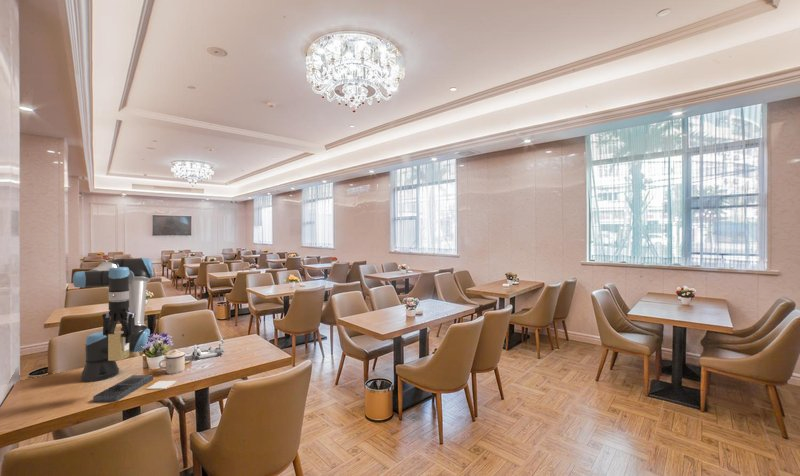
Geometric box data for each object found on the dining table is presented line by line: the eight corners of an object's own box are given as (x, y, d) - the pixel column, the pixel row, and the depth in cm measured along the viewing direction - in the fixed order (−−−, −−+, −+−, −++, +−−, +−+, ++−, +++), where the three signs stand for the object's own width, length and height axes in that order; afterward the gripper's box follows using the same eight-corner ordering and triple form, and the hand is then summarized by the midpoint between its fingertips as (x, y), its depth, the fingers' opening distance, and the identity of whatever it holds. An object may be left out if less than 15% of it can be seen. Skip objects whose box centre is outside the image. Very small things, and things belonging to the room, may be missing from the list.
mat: (146, 389, 168) (146, 388, 168) (158, 381, 177) (158, 380, 177) (165, 389, 169) (165, 388, 169) (176, 381, 178) (176, 380, 178)
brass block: (108, 360, 161) (108, 334, 161) (117, 356, 166) (117, 331, 167) (120, 360, 161) (120, 334, 161) (129, 356, 167) (129, 331, 167)
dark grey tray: (93, 401, 156) (93, 396, 156) (132, 380, 180) (132, 375, 180) (116, 401, 156) (116, 395, 156) (152, 379, 180) (152, 374, 180)
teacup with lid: (184, 366, 198) (184, 346, 198) (185, 371, 191) (185, 350, 191) (158, 371, 191) (158, 350, 191) (159, 377, 184) (159, 354, 184)
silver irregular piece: (224, 335, 228) (226, 340, 218) (224, 351, 228) (226, 356, 218) (192, 340, 218) (193, 344, 208) (192, 356, 218) (193, 361, 208)
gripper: (91, 302, 160) (91, 353, 160) (133, 301, 160) (133, 352, 160) (105, 299, 167) (105, 347, 167) (144, 298, 168) (144, 347, 168)
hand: (119, 350), depth 164 cm, fingers closed on brass block, 5 cm apart
